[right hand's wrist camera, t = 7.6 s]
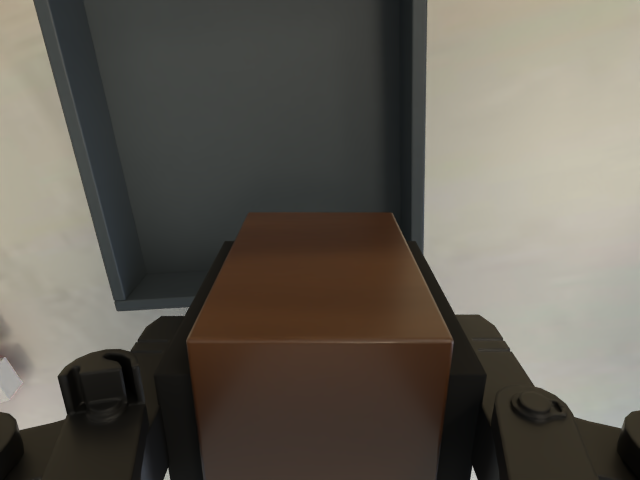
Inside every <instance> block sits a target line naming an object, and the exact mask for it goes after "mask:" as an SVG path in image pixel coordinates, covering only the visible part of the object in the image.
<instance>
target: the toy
mask: <svg viewBox="0 0 640 480" xmlns="http://www.w3.org/2000/svg"><path fill="white" fill-rule="evenodd" d="M22 384H23V382H22V380H21V379H20V377H19V376H18V375H17V373H16V372H15V370H14V369H13V367H12V366H11V365H10V363H9V362H8V360H7V359H6V357H3V358H0V404H1V403H4V402H6V401H9V400H10V399H11V398H12V397H13V396H14V394H15V393H16V392H17V391H18V389H19V388H20V387H21V386H22Z"/></svg>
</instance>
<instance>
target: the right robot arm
mask: <svg viewBox="0 0 640 480" xmlns="http://www.w3.org/2000/svg"><path fill="white" fill-rule="evenodd" d="M406 242H407V244H408V246H409V248H410V251H411V253H412V255H413V257H414V259H415V261H416V263H417V265H418V267H419V269H420V271H421V273H422V276H423V278H424V280H425V282H426V284H427V286H428V288H429V290H430V292H431V294H432V296H433V298H434V301H435V303H436V305H437V307H438V309H439V311H440V313H441V315H442V317H443V319H444V321H445V323H446V326H447V328H448V330H449V332H450V334H451V336H452V338H453V341H454V344H453V352H452V360H451V368H450V376H449V384H448V392H447V400H446V407H445V415H444V423H443V431H442V439H441V447H440V455H439V463H438V471H437V479H436V480H470V477H471V470H472V466H473V468H474V471H475V473H476V476H477V479H478V480H640V410H639V411H634V412H631V413H630V414H629V415H628V416H627V417H625V420H624V423H623V426H622V429H621V428H617V427H612V426H608V425H603V424H599V423H594V422H590V421H586V420H583V419H579V418H576V417H574V416H573V413H572V412H571V411H570V409H569V408H568V406H567V405H566V403H564V402H563V401H562V400H560V399H559V398H558V397H557V396H555V395H554V394H552V393H550V392H547V391H545V390H543V389H541V388H538V387H535V386H534V385H533V383H532V382H531V380H530V379H529V377H528V376H527V374H526V373H525V371H524V370H523V368H522V366H521V365H520V363H519V362H518V360H517V359H516V357H515V356H514V354H513V353H512V352H510V348H509V347H508V345H507V344H506V342H505V341H503V338H502V336H501V335H500V333H499V332H498V330H497V329H496V327H495V326H494V325H493V324H491V323H490V322H489V321H487V320H486V319H484V318H483V317H482V316H480V315H455V314H454V312H453V310H452V308H451V306H450V304H449V303H448V301H447V299H446V297H445V295H444V293H443V291H442V289H441V288H440V286H439V284H438V282H437V280H436V278H435V276H434V275H433V273H432V271H431V269H430V267H429V265H428V263H427V261H426V260H425V258H424V256H423V254H422V252H421V250H420V248H419V246H418V245H417V243H416V241H406ZM233 243H234V241H225V242H224V243H223V245H222V247H221V249H220V251H219V253H218V255H217V257H216V258H215V260H214V262H213V264H212V266H211V268H210V270H209V272H208V273H207V275H206V277H205V279H204V281H203V283H202V285H201V286H200V288H199V290H198V292H197V294H196V296H195V298H194V300H193V301H192V303H191V305H190V307H189V309H188V311H187V313H186V315H185V316H161V317H160V318H158V319H157V320H155V321H154V322H153V323H151V324H150V325H148V326H147V327H146V328H145V330H144V331H143V333H142V334H141V336H140V337H139V339H138V342H136V343H135V345H134V346H133V348H132V349H131V352H129V351H126V350H122V349H106V350H101V351H97V352H92V353H90V354H87V355H85V356H82V357H80V358H78V359H76V360H74V361H73V362H72V363H70V364H69V365H67V366H66V367H65V368H64V369H63V370H62V371H61V373H60V374H59V375H58V380H59V384H60V388H61V392H62V396H63V400H64V404H65V408H66V411H67V416H66V419H64V420H61V421H58V422H54V423H50V424H46V425H41V426H37V427H32V428H28V429H23V430H19V428H18V425H17V422H16V419H15V418H13V417H12V416H11V415H10V414H8V413H2V412H0V480H163V479H164V477H165V474H166V471H167V469H168V468H169V474H170V480H203V472H202V464H201V456H200V448H199V440H198V432H197V424H196V416H195V408H194V400H193V392H192V384H191V376H190V368H189V360H188V352H187V344H186V340H187V338H188V336H189V333H190V331H191V329H192V327H193V325H194V323H195V321H196V319H197V317H198V315H199V313H200V311H201V309H202V307H203V305H204V303H205V301H206V299H207V296H208V294H209V292H210V290H211V288H212V286H213V284H214V282H215V280H216V278H217V276H218V274H219V272H220V270H221V268H222V266H223V264H224V261H225V259H226V257H227V255H228V253H229V251H230V249H231V247H232V245H233Z"/></svg>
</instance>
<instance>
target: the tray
mask: <svg viewBox="0 0 640 480" xmlns="http://www.w3.org/2000/svg"><path fill="white" fill-rule="evenodd" d="M33 1H34V5H35V8H36V12H37V16H38V20H39V23H40V27H41V31H42V34H43V38H44V42H45V46H46V49H47V53H48V57H49V61H50V64H51V68H52V72H53V75H54V79H55V83H56V87H57V90H58V94H59V98H60V101H61V105H62V109H63V113H64V116H65V120H66V124H67V127H68V131H69V135H70V139H71V142H72V146H73V150H74V154H75V157H76V161H77V165H78V168H79V172H80V176H81V180H82V183H83V187H84V191H85V194H86V198H87V202H88V206H89V209H90V213H91V217H92V221H93V224H94V228H95V232H96V235H97V239H98V243H99V247H100V250H101V254H102V258H103V261H104V265H105V269H106V273H107V276H108V280H109V284H110V288H111V291H112V295H113V299H114V301H115V306H116V310H117V311H131V310H147V309H164V308H180V307H190V305H191V303H192V301H193V300H194V298H195V296H196V294H197V292H198V290H199V288H200V286H201V285H202V283H203V281H204V279H205V277H206V275H207V273H208V272H209V270H210V268H211V266H212V264H213V262H214V260H215V258H216V257H217V255H218V253H219V251H220V249H221V247H222V245H223V243H224V242H225V241H235V239H236V237H237V235H238V233H239V231H240V229H241V226H242V224H243V222H244V220H245V218H246V216H247V214H248V213H250V212H391V213H393V215H394V217H395V219H396V221H397V224H398V226H399V228H400V230H401V232H402V234H403V236H404V238H405V240H406V241H416V243H417V245H418V246H419V248H420V250H421V252H422V254H423V248H424V181H425V114H426V46H427V0H33Z"/></svg>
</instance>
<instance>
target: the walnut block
mask: <svg viewBox="0 0 640 480" xmlns="http://www.w3.org/2000/svg"><path fill="white" fill-rule="evenodd" d="M186 344H187V352H188V360H189V368H190V376H191V384H192V392H193V400H194V408H195V416H196V424H197V432H198V440H199V448H200V456H201V464H202V472H203V480H436V479H437V471H438V463H439V455H440V447H441V439H442V431H443V423H444V415H445V407H446V400H447V392H448V384H449V376H450V368H451V360H452V352H453V344H454V341H453V338H452V336H451V334H450V332H449V330H448V328H447V326H446V323H445V321H444V319H443V317H442V315H441V313H440V311H439V309H438V307H437V305H436V303H435V301H434V298H433V296H432V294H431V292H430V290H429V288H428V286H427V284H426V282H425V280H424V278H423V276H422V273H421V271H420V269H419V267H418V265H417V263H416V261H415V259H414V257H413V255H412V253H411V251H410V248H409V246H408V244H407V242H406V240H405V238H404V236H403V234H402V232H401V230H400V228H399V226H398V224H397V221H396V219H395V217H394V215H393V213H391V212H250V213H248V214H247V216H246V218H245V220H244V222H243V224H242V226H241V229H240V231H239V233H238V235H237V237H236V239H235V241H234V243H233V245H232V247H231V249H230V251H229V253H228V255H227V257H226V259H225V261H224V264H223V266H222V268H221V270H220V272H219V274H218V276H217V278H216V280H215V282H214V284H213V286H212V288H211V290H210V292H209V294H208V296H207V299H206V301H205V303H204V305H203V307H202V309H201V311H200V313H199V315H198V317H197V319H196V321H195V323H194V325H193V327H192V329H191V331H190V333H189V336H188V338H187V340H186Z"/></svg>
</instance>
